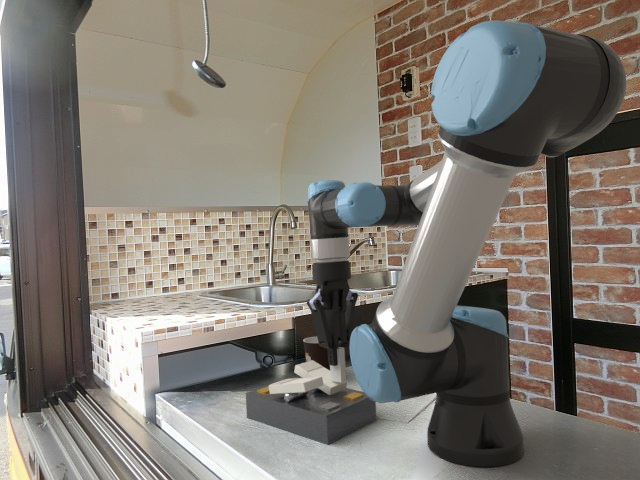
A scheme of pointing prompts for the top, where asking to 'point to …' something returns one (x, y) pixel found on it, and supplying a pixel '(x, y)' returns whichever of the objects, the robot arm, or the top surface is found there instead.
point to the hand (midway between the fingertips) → (338, 380)
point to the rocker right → (317, 370)
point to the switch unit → (312, 412)
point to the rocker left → (295, 385)
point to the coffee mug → (316, 352)
